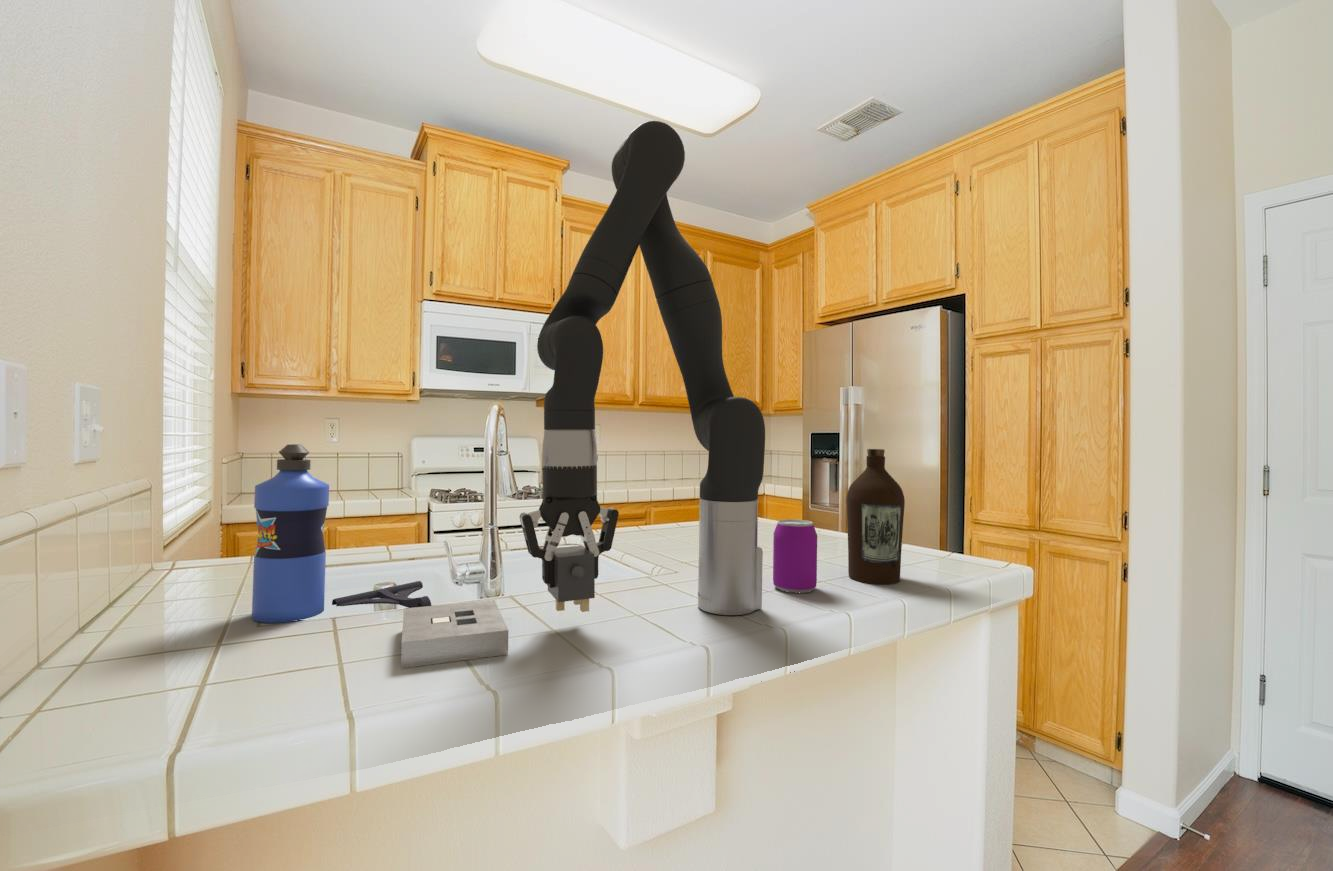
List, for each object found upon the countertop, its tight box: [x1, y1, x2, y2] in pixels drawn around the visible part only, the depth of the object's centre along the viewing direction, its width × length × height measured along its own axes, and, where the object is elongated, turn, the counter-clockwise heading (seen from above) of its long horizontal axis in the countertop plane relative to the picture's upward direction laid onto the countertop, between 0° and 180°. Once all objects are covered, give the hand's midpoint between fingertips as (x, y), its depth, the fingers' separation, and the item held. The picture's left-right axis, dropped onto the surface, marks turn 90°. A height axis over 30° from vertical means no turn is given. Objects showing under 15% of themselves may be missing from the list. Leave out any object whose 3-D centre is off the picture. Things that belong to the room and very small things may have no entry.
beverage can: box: [772, 518, 818, 594], centre depth 106 cm, size 8×8×12 cm
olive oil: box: [845, 448, 906, 585], centre depth 114 cm, size 11×11×25 cm
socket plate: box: [400, 599, 509, 669], centre depth 77 cm, size 12×14×3 cm
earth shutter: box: [432, 617, 450, 624], centre depth 76 cm, size 2×2×1 cm
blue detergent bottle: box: [251, 444, 330, 624], centre depth 88 cm, size 9×9×25 cm
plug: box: [547, 545, 596, 613], centre depth 82 cm, size 5×8×8 cm, turn 24°
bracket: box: [331, 580, 432, 608], centre depth 94 cm, size 14×15×3 cm
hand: (570, 583), depth 83 cm, fingers closed on plug, 5 cm apart
